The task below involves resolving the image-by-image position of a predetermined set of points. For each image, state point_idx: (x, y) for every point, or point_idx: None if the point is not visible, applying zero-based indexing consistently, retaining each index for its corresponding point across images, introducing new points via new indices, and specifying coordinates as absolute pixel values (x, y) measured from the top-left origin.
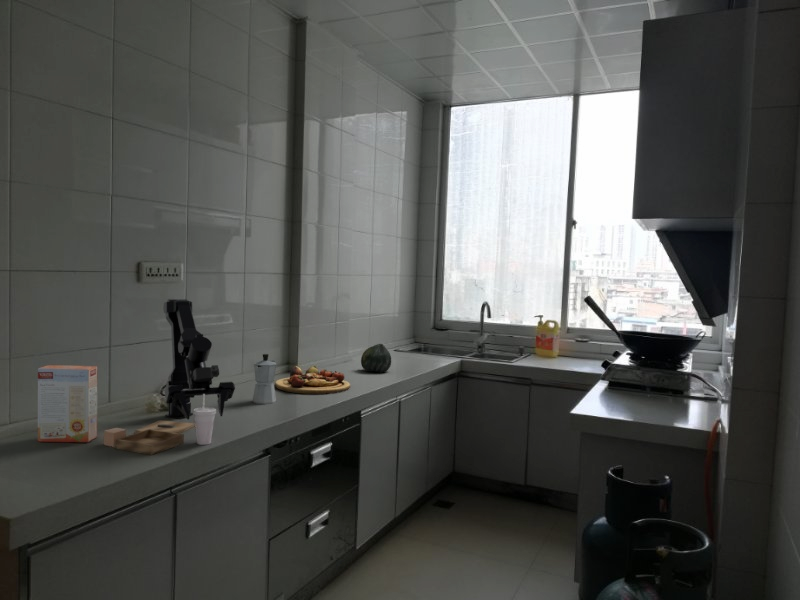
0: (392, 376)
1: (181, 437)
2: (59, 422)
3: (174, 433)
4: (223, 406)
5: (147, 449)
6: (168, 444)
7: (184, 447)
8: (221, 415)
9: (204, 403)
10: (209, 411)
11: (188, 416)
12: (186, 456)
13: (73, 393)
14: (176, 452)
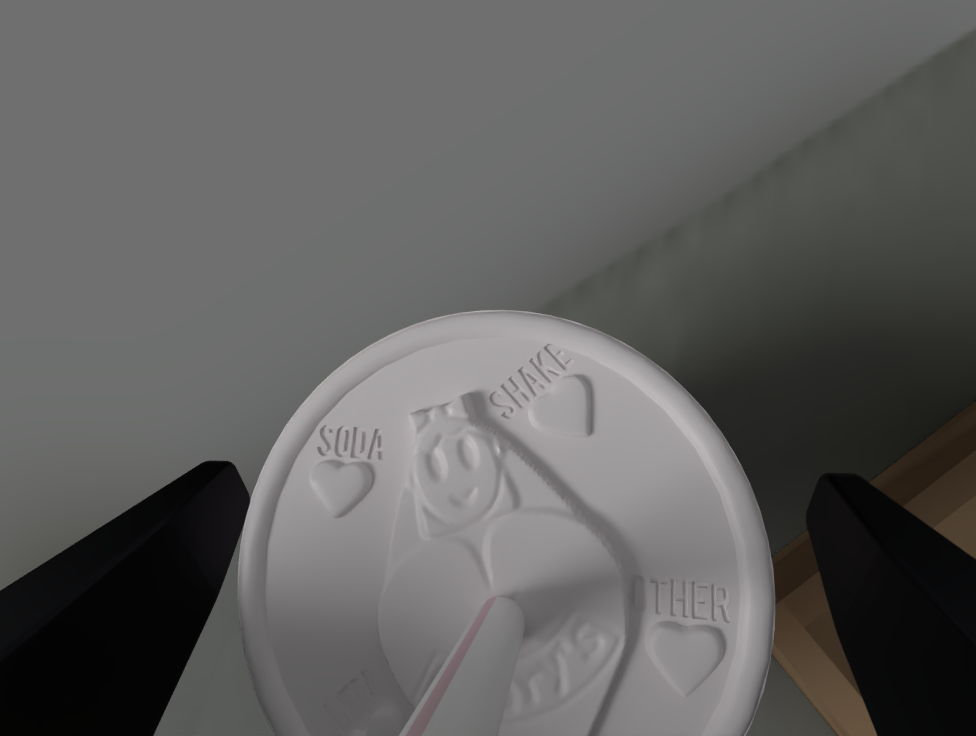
0: None
1: (778, 588)
2: None
3: (872, 725)
4: (49, 560)
5: None
6: (931, 455)
7: (737, 440)
8: (235, 473)
9: (456, 649)
10: (441, 323)
11: (855, 479)
12: (760, 173)
13: None
14: (832, 313)
